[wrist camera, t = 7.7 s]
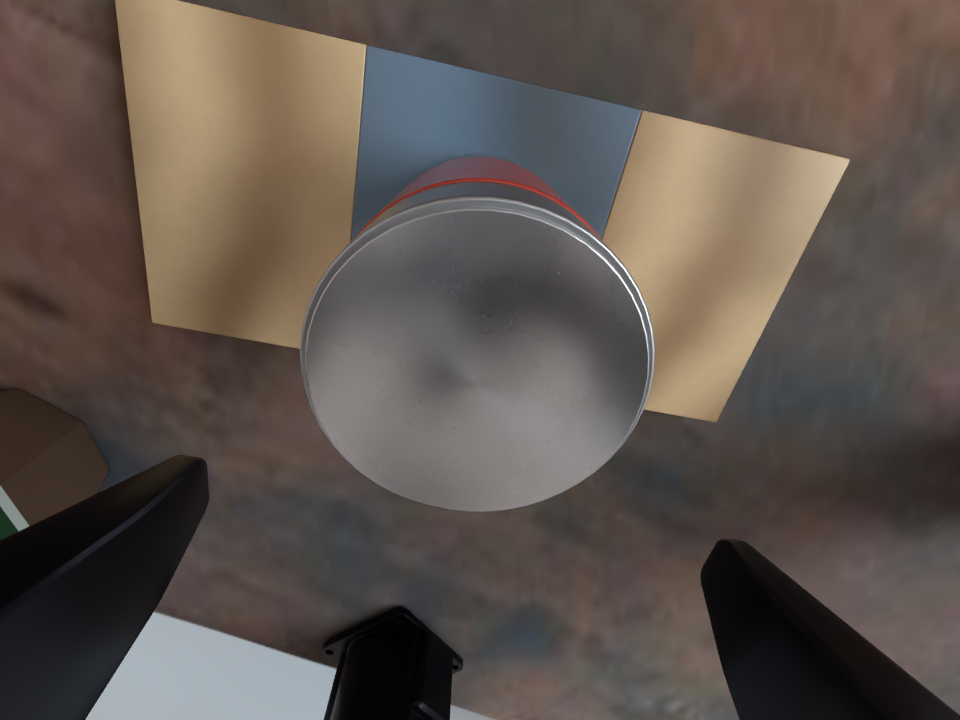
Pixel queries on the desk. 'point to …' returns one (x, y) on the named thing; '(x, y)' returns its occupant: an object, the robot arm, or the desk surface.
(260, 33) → the board
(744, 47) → the desk surface
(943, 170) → the desk surface
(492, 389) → the tin can
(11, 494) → the beer bottle
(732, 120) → the desk surface
